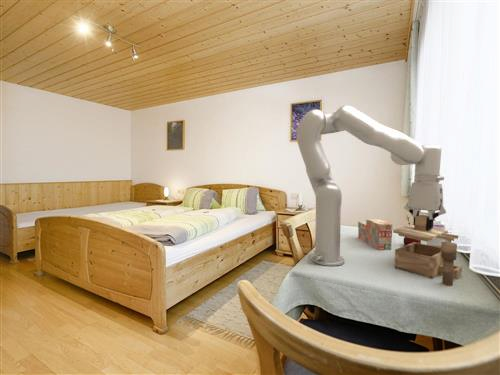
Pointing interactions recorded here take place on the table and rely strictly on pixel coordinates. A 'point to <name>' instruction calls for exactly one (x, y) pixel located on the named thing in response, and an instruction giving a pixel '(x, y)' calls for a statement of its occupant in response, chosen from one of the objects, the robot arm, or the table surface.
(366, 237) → the stack of blocks
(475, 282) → the table surface
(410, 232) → the lid
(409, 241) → the red clay folk toy
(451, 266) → the wooden bottle
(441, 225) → the syrup box
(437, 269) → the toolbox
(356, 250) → the table surface
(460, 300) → the table surface
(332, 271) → the table surface
